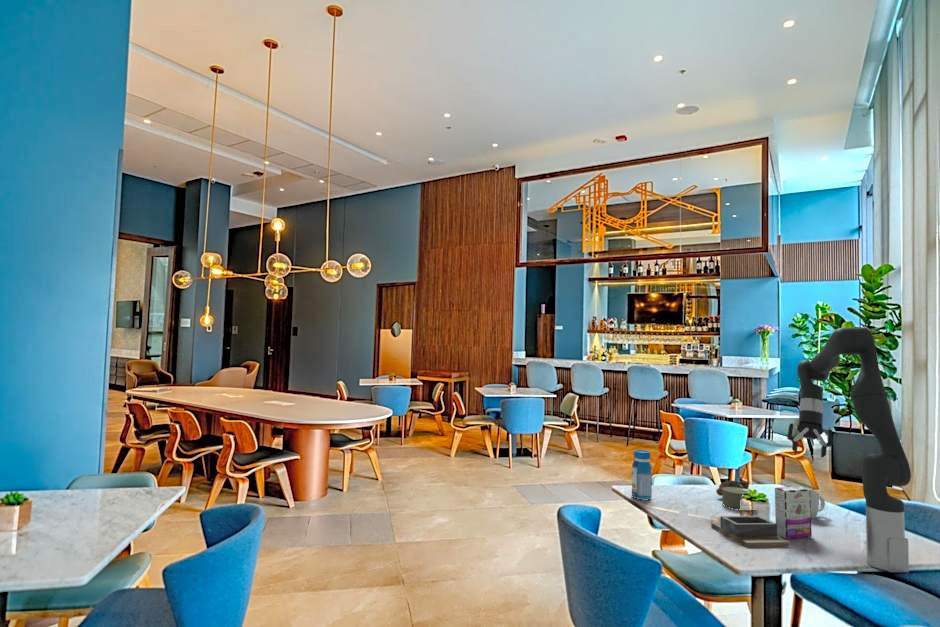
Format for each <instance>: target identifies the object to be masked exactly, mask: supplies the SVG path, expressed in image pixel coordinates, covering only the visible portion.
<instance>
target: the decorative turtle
mask: <svg viewBox="0 0 940 627" xmlns="http://www.w3.org/2000/svg"><path fill="white" fill-rule="evenodd" d="M723 487H740V488H745V489H749V487H750V483H749V482H748V481H746V480H740V481H739V482H738V480H737V481H736V480H726V481H723V482H721V483H720V484H719V486H718V488H716V490H715V492H716V494H717V495H718V496H721V497H722V488H723Z"/></svg>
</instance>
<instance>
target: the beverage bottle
mask: <svg viewBox="0 0 940 627" xmlns="http://www.w3.org/2000/svg"><path fill="white" fill-rule="evenodd" d="M633 458H634V461H633V462H632V465H631V467H632V470H631V497H632V496H633V497H634V498H637V499H636V500H638V499H642V500H641V501H649V500H648V499H650V500H652V498H653V496H652V488H653V487H652V486H653V484H652V482H653V472H652V469H653V466H652V464H651V462H650V461H649V460H651V452H650V451H649V450H644V449H635V450H634V452H633ZM633 497H632V498H633ZM634 498H633V499H634Z"/></svg>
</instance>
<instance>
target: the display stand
mask: <svg viewBox="0 0 940 627" xmlns="http://www.w3.org/2000/svg"><path fill="white" fill-rule="evenodd" d="M710 524H711V526H710V527H711V528H712V529H714V530H715V531H717V532H719V533H721V534H723V535H725V536H726V537H728V538H730V539H732V540H734V541H735V542H737V543H739V544H741V545H742V546H744V547H746V548H786V547H787V548H788V547H790V541H788V540H787V539H785V538H783V537H780V536H778V535H777V524H776V522H774V521H772V520H769V519H768V518H765V517H764V516H763V517H762V516H760V515H746V516H745V515H731V516H730V515H729V516H728V515H721V516H720V522H711V523H710Z"/></svg>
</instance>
